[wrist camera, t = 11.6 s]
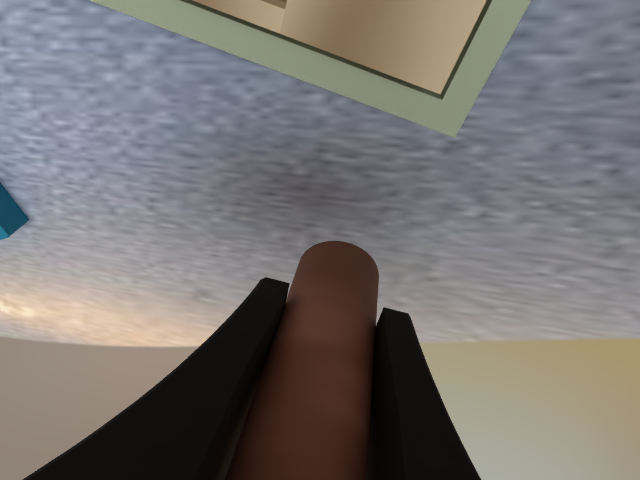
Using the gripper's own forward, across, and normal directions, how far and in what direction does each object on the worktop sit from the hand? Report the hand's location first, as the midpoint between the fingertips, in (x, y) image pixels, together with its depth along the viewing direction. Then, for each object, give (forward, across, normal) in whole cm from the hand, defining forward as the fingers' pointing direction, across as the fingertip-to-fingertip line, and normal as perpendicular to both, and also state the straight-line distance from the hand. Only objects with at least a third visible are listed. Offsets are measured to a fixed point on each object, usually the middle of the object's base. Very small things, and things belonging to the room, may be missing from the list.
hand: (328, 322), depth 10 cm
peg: (+2, 0, 0) cm, 2 cm away
